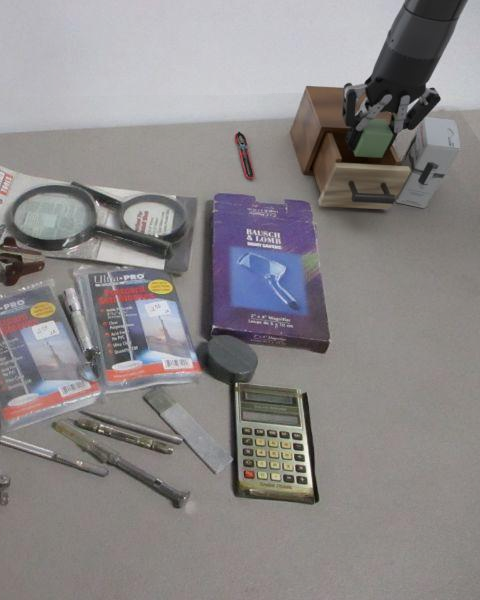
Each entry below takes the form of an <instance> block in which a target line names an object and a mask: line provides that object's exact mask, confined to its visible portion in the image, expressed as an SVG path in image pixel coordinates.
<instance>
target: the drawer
mask: <svg viewBox="0 0 480 600" xmlns="http://www.w3.org/2000/svg"><path fill="white" fill-rule="evenodd" d="M347 133H348V132H332V131H325V132H324V134H323V137H322V139H321V142H320V144H319V147H318V149H317V152H316V154H315V157H314V159H313V162H312V164H311V166H312V169H313V172H314V175H313V176H314V178H315V181H316V184H317V187H318V189H319V193H320V195H319V198H318V201H317V202H318V205H319V207H330V208H331V207H333V208H334V207H336V208H351V209H354V208H355V209H371V210H372V209H373V210H390V209H391V208H392V206H393V205H394V204H395V202H396V200H395V199H396V197H397V195H398V194H399V192H400V190H401V188H402V186H403V185H404V183H405V181H406V179H407V178H408V176H409V174H410V172H411V170H410V168H409V166H399V165H400V163H401V158H400V157H399V155H398V153H397V151H396V148H395V146H394V143H393V144H392V146H391V147H390V148H389V149H387V150H386V152H385V153H384V155H383V157H382V158H375V157H357V156H355V155H354V152H353V150H349V148H348V147H347V144H346V142H345V138H346V136H347Z"/></svg>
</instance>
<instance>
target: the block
mask: <svg viewBox="0 0 480 600" xmlns="http://www.w3.org/2000/svg"><path fill="white" fill-rule="evenodd" d="M392 137H393V133H392V131H391V129H390V127H389V125H388V123H387V121H386V119H373V120H370V122H369V123H368V124H367V125H366V126H365V128H364V129H363V133H362V135H361V137H360V140H359V142H358V144H357V146H356V148H355V150H353V152H354V155H355V156H357V157H375V158H382V157H383V155H384V153H385V151H386V149H387V147H388V145H389V143H390V141H391V139H392Z"/></svg>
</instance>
